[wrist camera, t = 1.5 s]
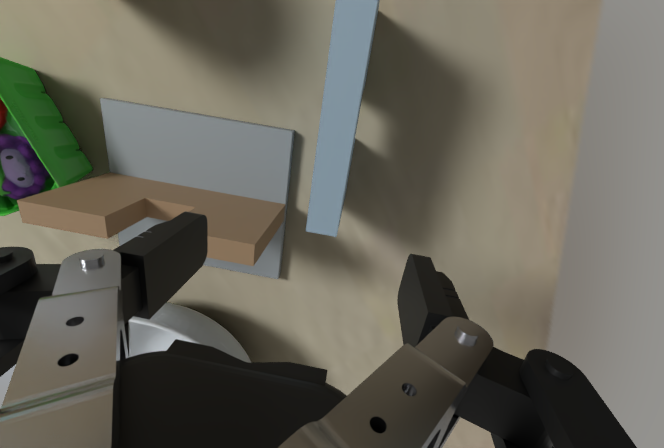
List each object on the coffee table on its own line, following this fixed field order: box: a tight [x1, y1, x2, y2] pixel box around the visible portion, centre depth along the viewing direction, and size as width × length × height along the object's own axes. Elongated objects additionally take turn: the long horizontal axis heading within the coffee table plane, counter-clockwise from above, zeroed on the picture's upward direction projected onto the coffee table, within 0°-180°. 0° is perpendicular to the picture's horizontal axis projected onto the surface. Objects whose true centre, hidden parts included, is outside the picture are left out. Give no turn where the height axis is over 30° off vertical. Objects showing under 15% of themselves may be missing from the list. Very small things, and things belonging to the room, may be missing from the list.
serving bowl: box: [129, 303, 251, 363], centre depth 33 cm, size 21×21×7 cm
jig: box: [17, 98, 295, 279], centre depth 24 cm, size 14×16×9 cm
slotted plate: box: [306, 0, 379, 237], centre depth 21 cm, size 14×2×8 cm, turn 171°
